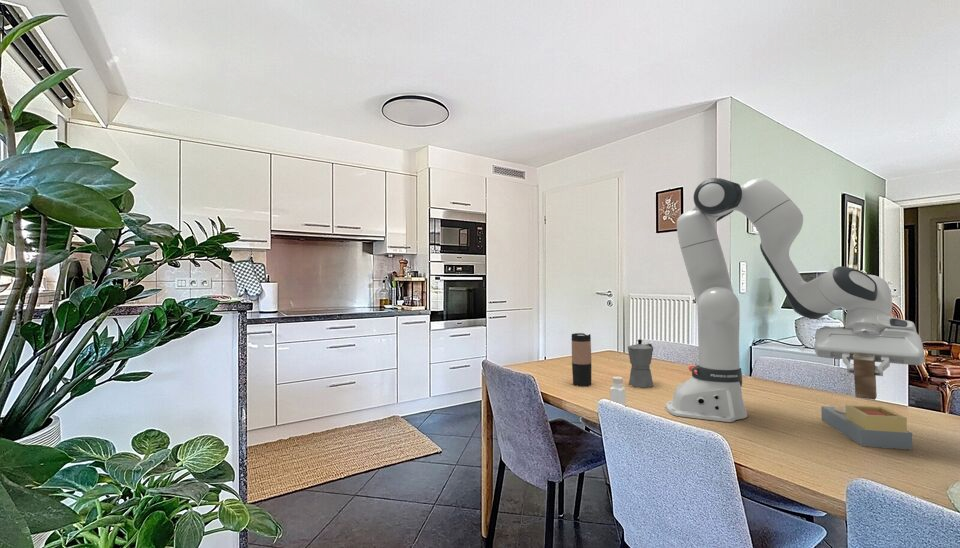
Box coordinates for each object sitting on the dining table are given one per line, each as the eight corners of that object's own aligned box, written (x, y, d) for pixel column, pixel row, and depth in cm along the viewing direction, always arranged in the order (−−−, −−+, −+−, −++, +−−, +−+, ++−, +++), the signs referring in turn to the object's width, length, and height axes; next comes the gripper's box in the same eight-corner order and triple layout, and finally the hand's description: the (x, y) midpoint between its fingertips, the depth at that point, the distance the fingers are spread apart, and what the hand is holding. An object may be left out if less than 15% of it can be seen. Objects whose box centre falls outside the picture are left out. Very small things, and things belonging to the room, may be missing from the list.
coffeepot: (642, 390, 159) (641, 342, 159) (620, 385, 166) (619, 339, 167) (664, 383, 168) (662, 338, 169) (642, 379, 176) (641, 336, 176)
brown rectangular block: (855, 397, 103) (852, 355, 103) (857, 394, 105) (855, 353, 105) (875, 399, 100) (873, 357, 100) (877, 396, 102) (874, 355, 103)
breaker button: (870, 435, 105) (869, 415, 105) (861, 429, 109) (860, 410, 109) (890, 436, 104) (889, 416, 104) (880, 431, 108) (879, 411, 108)
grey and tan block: (861, 446, 104) (860, 415, 104) (821, 420, 123) (820, 393, 123) (912, 449, 101) (911, 418, 101) (863, 422, 120) (862, 395, 120)
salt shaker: (614, 404, 142) (613, 375, 143) (626, 406, 140) (625, 377, 140) (609, 407, 139) (609, 377, 139) (621, 409, 137) (621, 379, 137)
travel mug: (572, 386, 167) (571, 335, 167) (571, 381, 174) (570, 333, 175) (592, 386, 166) (591, 335, 166) (591, 382, 173) (589, 333, 174)
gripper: (814, 318, 115) (808, 360, 108) (923, 322, 100) (924, 370, 93) (818, 333, 118) (812, 374, 111) (924, 339, 103) (925, 387, 96)
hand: (864, 373), depth 102 cm, fingers closed on brown rectangular block, 3 cm apart
